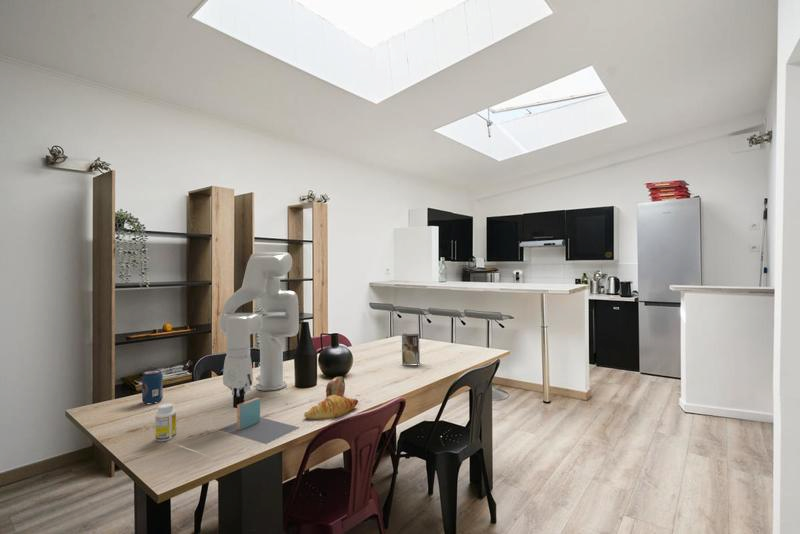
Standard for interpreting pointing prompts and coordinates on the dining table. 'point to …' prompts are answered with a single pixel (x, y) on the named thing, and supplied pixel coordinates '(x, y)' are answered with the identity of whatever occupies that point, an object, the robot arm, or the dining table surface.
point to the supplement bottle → (165, 422)
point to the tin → (336, 387)
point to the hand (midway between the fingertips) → (238, 406)
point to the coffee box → (410, 349)
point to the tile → (248, 413)
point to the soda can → (152, 386)
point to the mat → (262, 430)
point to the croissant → (331, 407)
